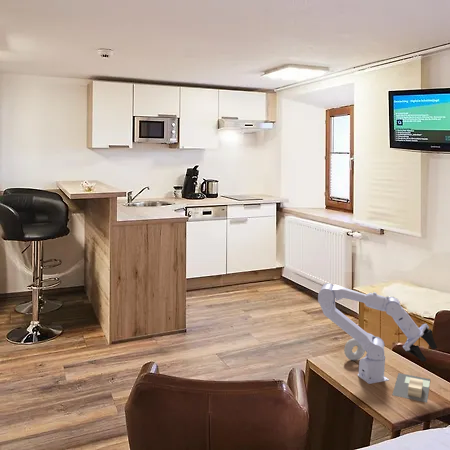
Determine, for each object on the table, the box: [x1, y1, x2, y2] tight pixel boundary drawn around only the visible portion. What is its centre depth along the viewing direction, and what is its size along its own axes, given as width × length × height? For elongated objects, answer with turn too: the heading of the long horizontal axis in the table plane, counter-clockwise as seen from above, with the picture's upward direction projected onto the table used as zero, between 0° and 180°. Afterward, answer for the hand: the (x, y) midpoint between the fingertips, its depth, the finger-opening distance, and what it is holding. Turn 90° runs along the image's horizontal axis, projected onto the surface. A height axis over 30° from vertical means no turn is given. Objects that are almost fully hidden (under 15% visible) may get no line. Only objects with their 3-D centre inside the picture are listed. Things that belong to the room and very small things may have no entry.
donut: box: [343, 337, 366, 361], centre depth 206 cm, size 10×4×10 cm, turn 108°
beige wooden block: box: [408, 378, 423, 398], centre depth 178 cm, size 8×4×3 cm, turn 154°
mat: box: [391, 372, 431, 404], centre depth 182 cm, size 20×12×1 cm, turn 154°
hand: (429, 354), depth 182 cm, fingers open, 7 cm apart
